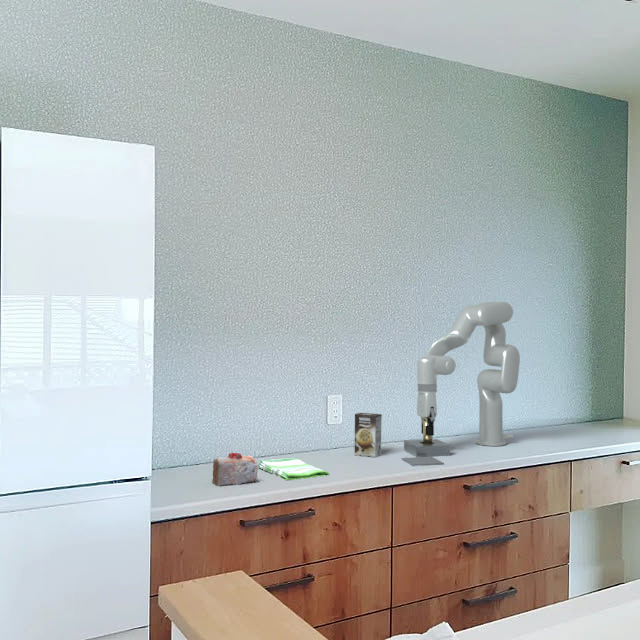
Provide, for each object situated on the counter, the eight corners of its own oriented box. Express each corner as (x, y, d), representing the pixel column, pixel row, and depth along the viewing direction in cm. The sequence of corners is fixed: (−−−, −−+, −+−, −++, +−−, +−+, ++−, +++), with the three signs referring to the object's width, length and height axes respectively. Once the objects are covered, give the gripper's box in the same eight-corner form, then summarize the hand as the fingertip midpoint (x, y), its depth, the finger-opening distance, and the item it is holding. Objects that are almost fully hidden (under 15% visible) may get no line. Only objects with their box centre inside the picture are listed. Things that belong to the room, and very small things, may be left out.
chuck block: (436, 448, 290) (436, 439, 290) (450, 455, 276) (450, 445, 276) (404, 450, 287) (404, 440, 287) (416, 457, 273) (416, 446, 273)
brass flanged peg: (419, 445, 284) (419, 414, 284) (431, 444, 285) (431, 413, 285) (424, 447, 279) (423, 415, 279) (436, 447, 280) (435, 415, 280)
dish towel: (299, 464, 262) (299, 455, 262) (330, 476, 242) (330, 466, 242) (256, 469, 254) (256, 459, 254) (285, 482, 234) (285, 471, 234)
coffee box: (353, 455, 276) (353, 414, 276) (360, 452, 282) (360, 412, 282) (375, 457, 272) (375, 415, 272) (382, 454, 278) (382, 413, 278)
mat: (431, 458, 271) (431, 456, 271) (443, 464, 260) (443, 462, 260) (401, 459, 269) (401, 458, 269) (412, 465, 257) (412, 464, 257)
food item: (250, 478, 238) (250, 448, 238) (259, 483, 231) (259, 452, 231) (210, 482, 232) (210, 452, 231) (218, 487, 224) (218, 456, 224)
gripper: (410, 386, 289) (411, 431, 289) (425, 391, 273) (426, 438, 273) (428, 386, 290) (428, 430, 291) (444, 390, 274) (444, 437, 275)
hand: (427, 434), depth 282 cm, fingers closed on brass flanged peg, 3 cm apart
